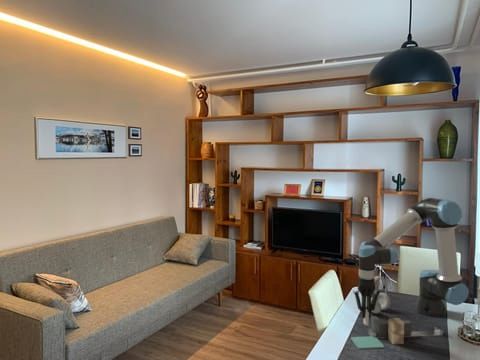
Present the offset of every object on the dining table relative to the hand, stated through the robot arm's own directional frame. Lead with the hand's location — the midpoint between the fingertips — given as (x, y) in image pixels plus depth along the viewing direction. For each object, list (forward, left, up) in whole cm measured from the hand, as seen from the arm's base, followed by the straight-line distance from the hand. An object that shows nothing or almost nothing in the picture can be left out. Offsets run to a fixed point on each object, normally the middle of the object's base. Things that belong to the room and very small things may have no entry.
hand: (365, 324), depth 187 cm
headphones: (-16, -22, -4) cm, 28 cm away
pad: (+4, +12, -4) cm, 13 cm away
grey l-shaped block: (-12, +2, -3) cm, 12 cm away
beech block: (-10, +11, -4) cm, 15 cm away
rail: (-18, +5, -4) cm, 19 cm away
